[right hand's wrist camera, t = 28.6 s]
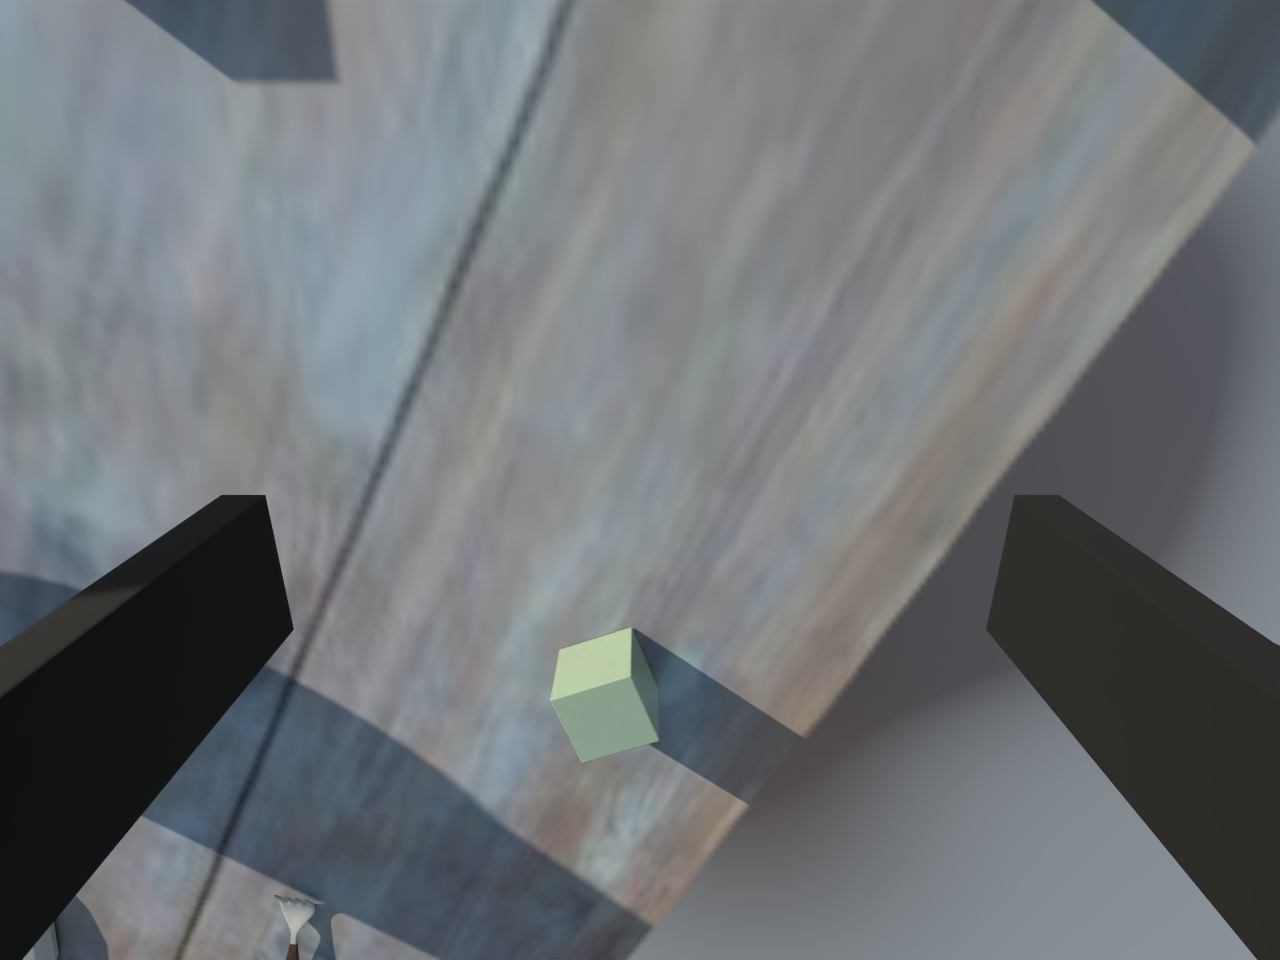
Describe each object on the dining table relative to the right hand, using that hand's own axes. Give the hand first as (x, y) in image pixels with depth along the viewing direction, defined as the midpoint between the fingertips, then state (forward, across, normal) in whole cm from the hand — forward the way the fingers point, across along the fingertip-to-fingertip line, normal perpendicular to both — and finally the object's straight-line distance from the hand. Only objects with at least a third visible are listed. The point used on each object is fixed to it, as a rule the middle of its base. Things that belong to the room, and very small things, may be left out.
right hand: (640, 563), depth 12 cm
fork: (+27, +27, +48) cm, 61 cm away
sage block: (+27, +2, +22) cm, 35 cm away
